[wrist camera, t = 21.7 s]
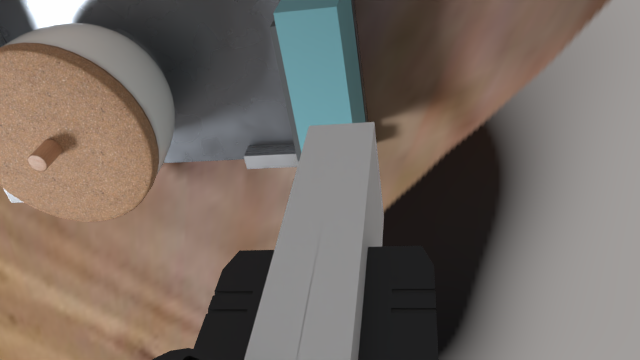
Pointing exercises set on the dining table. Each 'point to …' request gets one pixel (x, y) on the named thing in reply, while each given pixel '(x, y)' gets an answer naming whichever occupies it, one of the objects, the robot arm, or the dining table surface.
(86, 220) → the lidded jar
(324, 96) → the block
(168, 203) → the dining table surface
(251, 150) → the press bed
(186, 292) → the dining table surface
